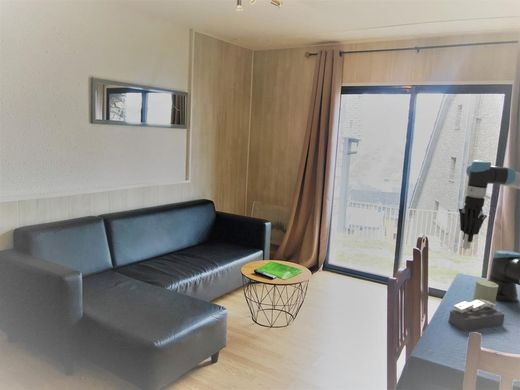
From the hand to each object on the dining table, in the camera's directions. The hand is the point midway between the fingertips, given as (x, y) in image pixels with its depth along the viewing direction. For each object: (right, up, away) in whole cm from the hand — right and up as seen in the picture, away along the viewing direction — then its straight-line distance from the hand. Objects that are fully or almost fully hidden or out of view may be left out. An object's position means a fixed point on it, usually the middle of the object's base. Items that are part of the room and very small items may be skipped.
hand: (466, 248), depth 184 cm
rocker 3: (+6, -23, -7) cm, 25 cm away
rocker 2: (-1, -23, -10) cm, 25 cm away
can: (+12, -29, +9) cm, 32 cm away
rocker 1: (-7, -23, -12) cm, 27 cm away
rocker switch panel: (-1, -31, -10) cm, 32 cm away
